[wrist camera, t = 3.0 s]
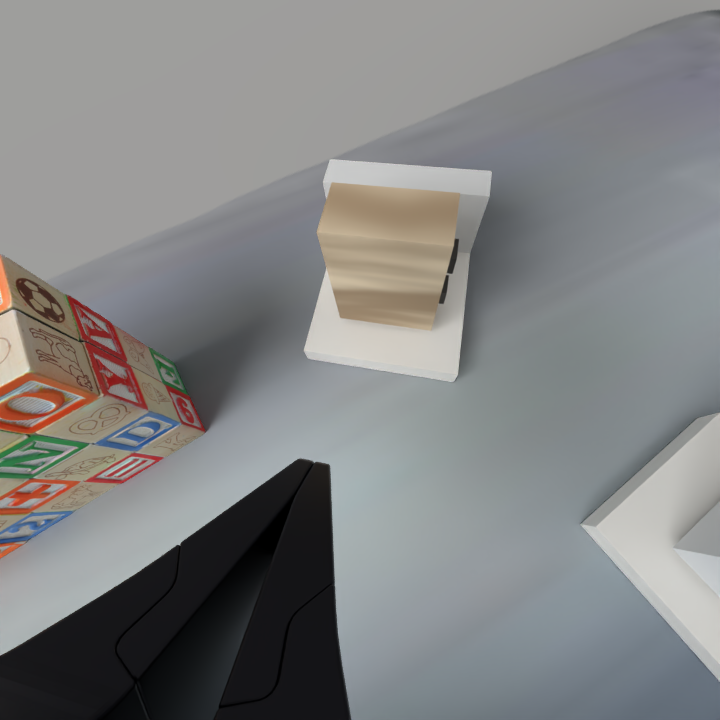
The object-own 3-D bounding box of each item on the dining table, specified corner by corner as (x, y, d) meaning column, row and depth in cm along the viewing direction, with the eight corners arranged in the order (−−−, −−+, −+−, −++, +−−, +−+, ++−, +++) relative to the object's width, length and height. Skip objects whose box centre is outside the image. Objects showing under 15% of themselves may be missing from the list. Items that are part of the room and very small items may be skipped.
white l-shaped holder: (453, 382, 22) (477, 341, 16) (308, 359, 24) (281, 313, 18) (468, 243, 26) (492, 168, 20) (343, 230, 28) (330, 157, 22)
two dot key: (437, 331, 22) (463, 247, 14) (340, 317, 23) (316, 232, 15) (442, 291, 23) (469, 193, 15) (349, 280, 24) (331, 182, 16)
